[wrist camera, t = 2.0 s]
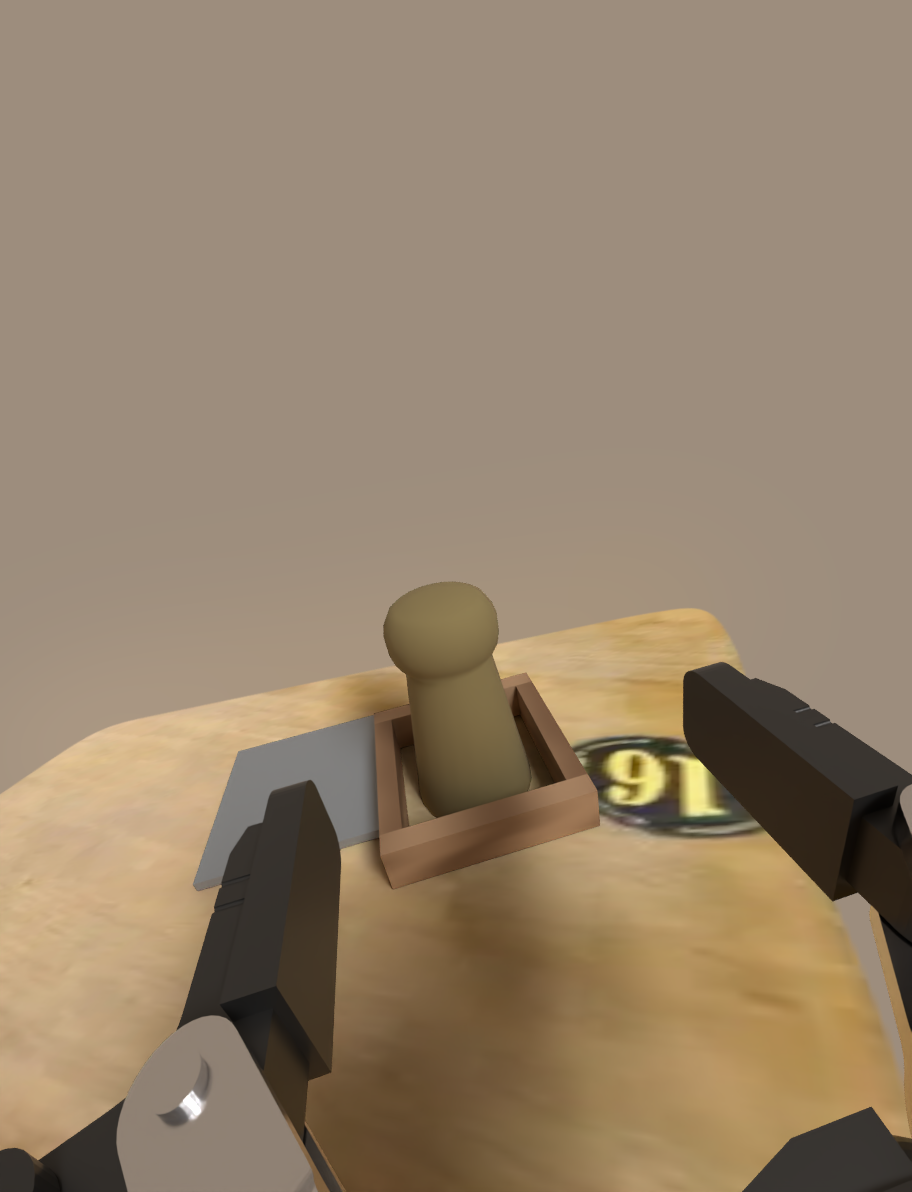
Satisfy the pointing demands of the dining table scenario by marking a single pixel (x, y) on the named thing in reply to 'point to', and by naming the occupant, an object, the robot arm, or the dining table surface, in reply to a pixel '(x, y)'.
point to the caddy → (486, 825)
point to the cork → (456, 697)
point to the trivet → (322, 756)
